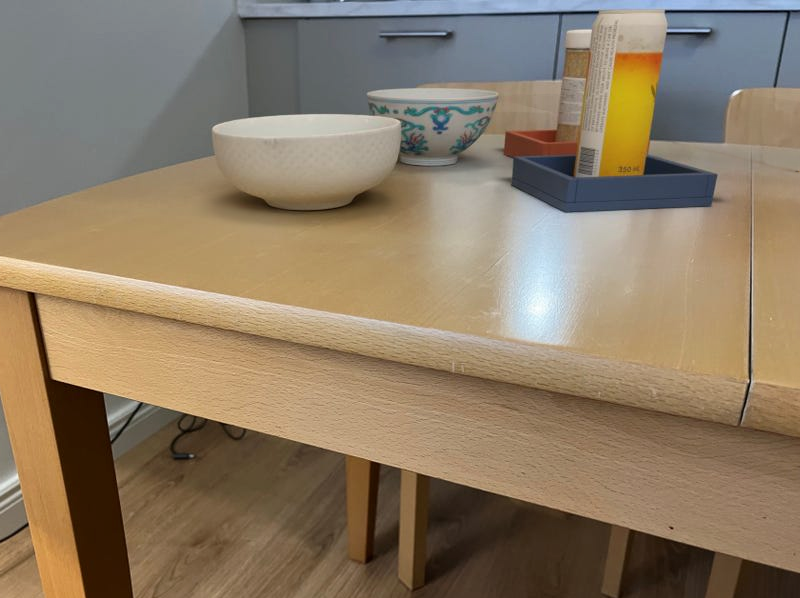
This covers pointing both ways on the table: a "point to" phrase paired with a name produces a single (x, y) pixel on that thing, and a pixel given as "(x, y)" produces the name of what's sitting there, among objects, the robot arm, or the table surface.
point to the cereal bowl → (307, 157)
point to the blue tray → (613, 185)
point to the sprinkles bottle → (573, 85)
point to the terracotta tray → (537, 144)
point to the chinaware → (435, 120)
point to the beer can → (620, 92)
